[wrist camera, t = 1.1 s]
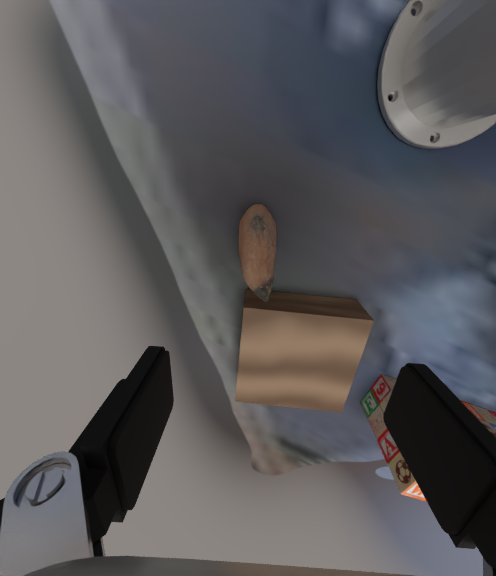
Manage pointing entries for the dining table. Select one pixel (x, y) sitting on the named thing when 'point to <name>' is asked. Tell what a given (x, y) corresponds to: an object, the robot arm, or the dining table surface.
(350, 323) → the walnut base block
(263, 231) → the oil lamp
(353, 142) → the dining table surface
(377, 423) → the stack of blocks
